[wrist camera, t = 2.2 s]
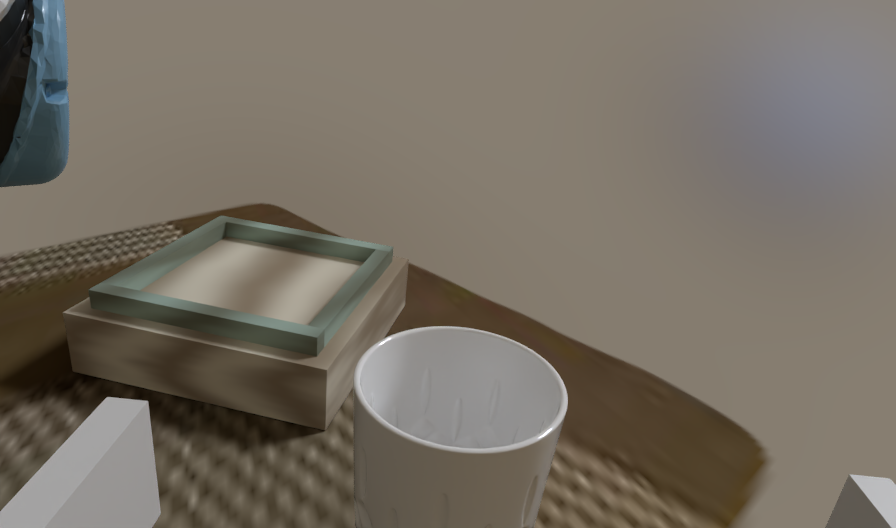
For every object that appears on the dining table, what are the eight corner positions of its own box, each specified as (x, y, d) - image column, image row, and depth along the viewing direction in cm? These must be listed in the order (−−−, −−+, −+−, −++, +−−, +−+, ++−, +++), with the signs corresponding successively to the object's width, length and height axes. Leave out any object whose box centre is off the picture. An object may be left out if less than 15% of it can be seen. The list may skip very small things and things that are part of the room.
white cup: (432, 707, 22) (464, 490, 18) (306, 561, 27) (309, 366, 23) (562, 580, 27) (609, 391, 23) (437, 478, 32) (458, 308, 28)
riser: (72, 371, 37) (59, 293, 35) (219, 268, 51) (216, 209, 49) (325, 430, 34) (327, 350, 32) (404, 305, 49) (409, 244, 47)
